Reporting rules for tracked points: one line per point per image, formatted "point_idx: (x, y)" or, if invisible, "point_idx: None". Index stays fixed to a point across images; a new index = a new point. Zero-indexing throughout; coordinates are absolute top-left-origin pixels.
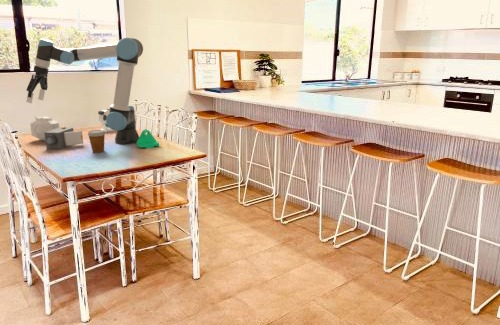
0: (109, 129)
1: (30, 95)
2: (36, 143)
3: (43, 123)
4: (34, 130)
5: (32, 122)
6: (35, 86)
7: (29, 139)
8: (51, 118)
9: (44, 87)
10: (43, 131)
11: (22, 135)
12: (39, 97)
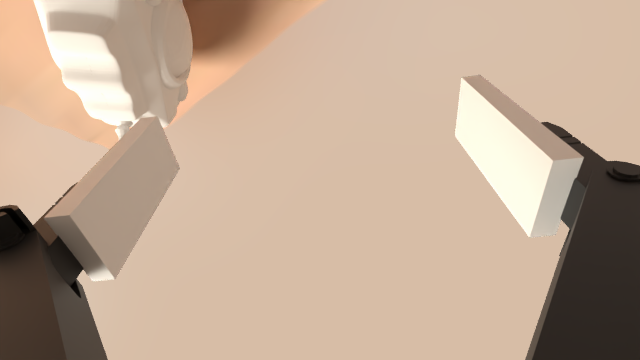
0: None
1: (575, 140)
2: (228, 8)
3: (149, 39)
4: (189, 71)
5: (163, 119)
6: (607, 279)
7: None
8: (54, 24)
9: (45, 267)
10: (179, 5)
11: None
12: (165, 171)
